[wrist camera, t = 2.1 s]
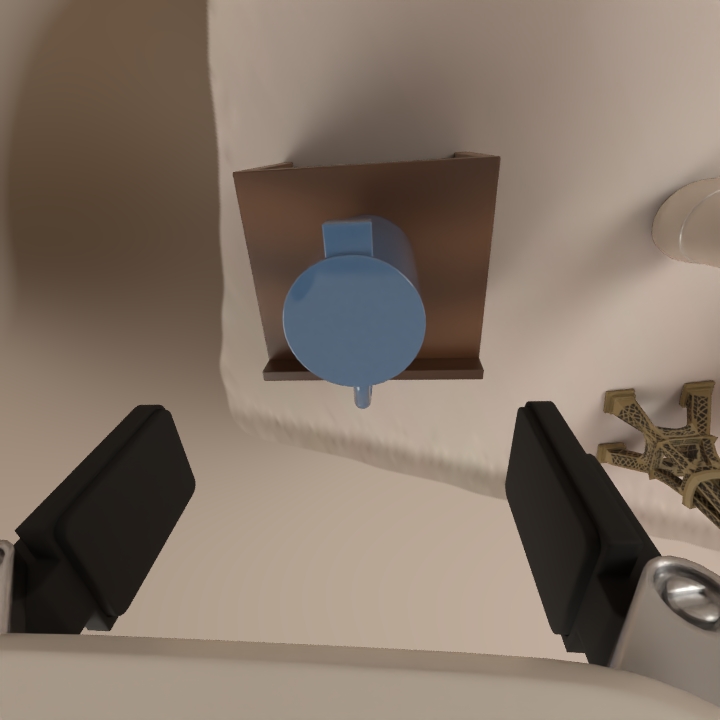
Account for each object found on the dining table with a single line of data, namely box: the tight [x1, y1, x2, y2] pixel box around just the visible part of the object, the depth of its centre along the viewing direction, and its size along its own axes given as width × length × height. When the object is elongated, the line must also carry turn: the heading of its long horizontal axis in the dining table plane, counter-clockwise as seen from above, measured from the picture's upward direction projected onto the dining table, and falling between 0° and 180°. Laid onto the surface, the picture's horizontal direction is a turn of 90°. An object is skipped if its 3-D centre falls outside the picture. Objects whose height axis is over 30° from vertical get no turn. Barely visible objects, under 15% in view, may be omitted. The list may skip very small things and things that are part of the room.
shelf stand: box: [233, 152, 500, 381], centre depth 31 cm, size 14×16×14 cm
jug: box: [282, 215, 426, 409], centre depth 22 cm, size 10×6×10 cm, turn 3°
